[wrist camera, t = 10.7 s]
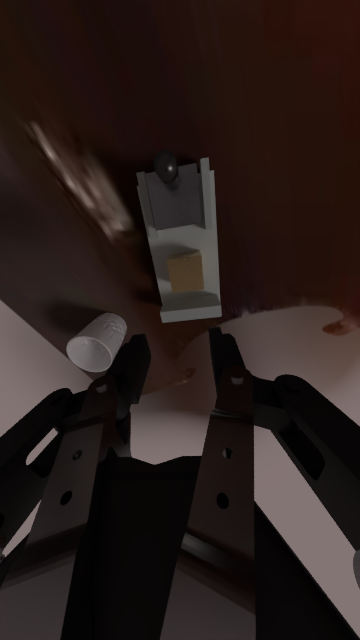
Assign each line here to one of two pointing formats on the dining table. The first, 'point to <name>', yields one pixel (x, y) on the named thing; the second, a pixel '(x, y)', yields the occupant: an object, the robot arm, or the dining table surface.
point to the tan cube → (186, 271)
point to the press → (181, 242)
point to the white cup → (97, 343)
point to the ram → (173, 192)
